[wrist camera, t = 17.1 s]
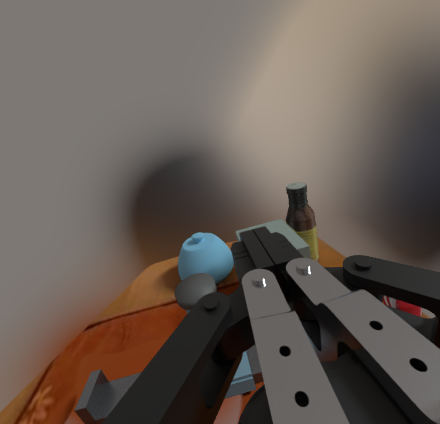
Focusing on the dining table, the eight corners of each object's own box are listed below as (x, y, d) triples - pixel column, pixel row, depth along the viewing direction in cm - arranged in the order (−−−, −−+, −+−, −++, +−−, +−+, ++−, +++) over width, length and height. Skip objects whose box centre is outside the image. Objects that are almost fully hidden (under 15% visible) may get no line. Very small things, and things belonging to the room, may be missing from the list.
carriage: (199, 406, 29) (159, 318, 24) (198, 354, 36) (167, 277, 31) (256, 389, 29) (229, 298, 24) (244, 341, 36) (221, 261, 31)
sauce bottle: (295, 253, 57) (285, 180, 50) (321, 255, 53) (314, 178, 46) (289, 268, 52) (277, 190, 45) (317, 272, 48) (309, 188, 41)
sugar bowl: (232, 251, 65) (223, 216, 61) (239, 283, 51) (228, 241, 47) (184, 262, 66) (172, 229, 62) (178, 298, 52) (162, 257, 48)
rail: (91, 431, 30) (74, 410, 28) (105, 392, 35) (91, 372, 33) (282, 375, 31) (276, 351, 29) (270, 344, 36) (265, 322, 34)
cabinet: (260, 327, 39) (245, 263, 34) (245, 284, 50) (232, 232, 45) (316, 311, 39) (309, 245, 34) (289, 272, 50) (280, 218, 46)
